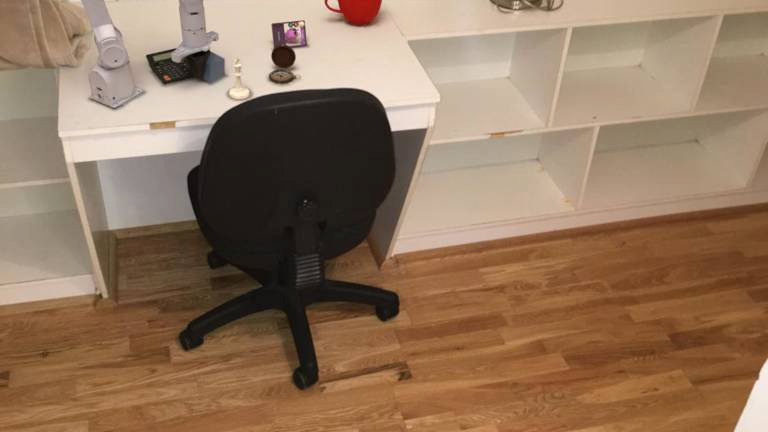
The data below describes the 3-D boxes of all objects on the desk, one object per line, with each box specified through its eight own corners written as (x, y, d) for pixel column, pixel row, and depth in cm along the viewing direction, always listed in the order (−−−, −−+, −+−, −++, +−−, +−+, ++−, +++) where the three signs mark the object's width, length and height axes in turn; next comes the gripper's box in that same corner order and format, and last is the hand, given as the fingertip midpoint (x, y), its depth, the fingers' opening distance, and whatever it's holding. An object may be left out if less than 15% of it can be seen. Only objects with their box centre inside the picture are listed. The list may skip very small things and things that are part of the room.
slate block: (210, 83, 194) (210, 65, 191) (195, 75, 196) (195, 57, 193) (224, 76, 198) (224, 58, 195) (210, 68, 200) (210, 50, 196)
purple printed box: (272, 23, 207) (305, 20, 209) (268, 21, 211) (300, 18, 214) (274, 49, 209) (307, 46, 212) (270, 47, 214) (303, 43, 216)
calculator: (164, 85, 193) (162, 74, 191) (147, 64, 200) (145, 54, 198) (200, 76, 197) (199, 65, 195) (182, 56, 204) (180, 46, 202)
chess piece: (224, 94, 191) (221, 57, 185) (238, 86, 194) (236, 50, 188) (240, 101, 189) (237, 64, 183) (254, 93, 192) (251, 56, 186)
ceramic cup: (317, 15, 227) (317, -18, 221) (371, 8, 233) (373, -24, 227) (332, 35, 218) (332, 1, 212) (388, 27, 224) (390, -6, 218)
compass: (267, 83, 196) (266, 57, 191) (272, 68, 202) (271, 42, 198) (299, 86, 196) (298, 60, 191) (303, 70, 202) (303, 45, 197)
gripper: (185, 42, 179) (191, 94, 187) (226, 19, 188) (230, 69, 197) (161, 33, 181) (168, 85, 190) (203, 11, 191) (208, 61, 200)
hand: (198, 76), depth 194 cm, fingers closed
